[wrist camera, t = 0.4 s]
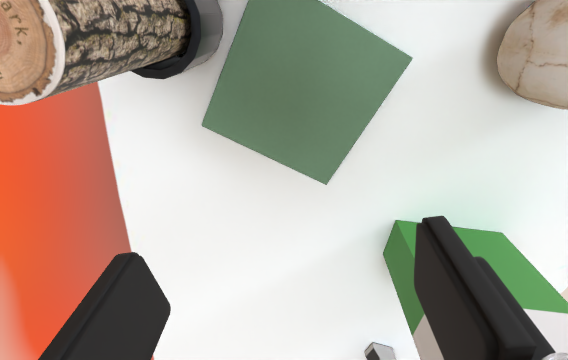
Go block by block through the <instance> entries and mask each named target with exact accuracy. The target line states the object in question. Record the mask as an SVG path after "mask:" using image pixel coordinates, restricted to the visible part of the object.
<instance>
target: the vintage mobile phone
mask: <svg viewBox="0 0 568 360" xmlns="http://www.w3.org/2000/svg"><path fill="white" fill-rule="evenodd" d="M365 356H366V358H367V360H396V358H395V354H394V351H393V348H391V347H388V346H384V345H380V344H376V343H372V344H371V345H370V346H369V348H368V349H367V350H366V351H365Z"/></svg>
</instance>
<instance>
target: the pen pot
mask: <svg viewBox="0 0 568 360" xmlns="http://www.w3.org/2000/svg"><path fill="white" fill-rule="evenodd" d="M184 2H185V4H186V6H187V9H188V11H189V14H190V20H191V34H192V35H191V39H190V42H189V45H188V48H187V52H186V53H185V54H184V55H183V56H182V57H176V56H174V57H171V58H167V59H164V60H161V61H158V62H155V63H152V64H149V65H146V66H143V67H140V68H137V69H133V70H130V71H132V72H134V73H136V74H138V75H140V76H142V77H144V78H155V79H166V78H169V77H171V76H174V75H177V74H180V73H182V72H184V71H186V70H188V69H190V68H192V67H194V66H196V65H198V64H200V63H203V62H205V61H206V60H207V59H208V58H209V57H210V56H211V55H212V54H213V53H214V52H215V51H216V50H217V48H218V45H219V43H220V40H221V37H222V34H223V23H222V12H221V9H220V7H219V4H218V1H217V0H184Z"/></svg>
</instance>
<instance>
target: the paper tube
mask: <svg viewBox="0 0 568 360" xmlns="http://www.w3.org/2000/svg"><path fill="white" fill-rule="evenodd" d="M191 35H192V34H191V20H190V14H189V11H188V9H187V6H186V4H185V2H184V0H0V104H3V105H21V104H26V103H29V102H35V101H38V100H41V99H44V98H47V97H50V96H53V95H56V94H59V93H62V92H66V91H69V90H72V89H75V88H78V87H81V86H84V85H87V84H90V83H93V82H96V81H100V80H103V79H106V78H109V77H112V76H115V75H118V74H121V73H124V72H127V71H130V70H133V69H137V68H140V67H143V66H146V65H149V64H152V63H155V62H158V61H161V60H164V59H167V58H171V57H174V56H177V55H180V54H183V53H185V52H187V48H188V45H189V42H190V39H191Z"/></svg>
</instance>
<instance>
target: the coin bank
mask: <svg viewBox="0 0 568 360" xmlns="http://www.w3.org/2000/svg"><path fill="white" fill-rule="evenodd" d="M497 66H498V72H499V74H500V76H501V78H502V80H503V81H504V83H505V84H506V85H507V86H508V87H509V88H510V89H511V90H512V91H513V92H514V93H516V94H517V95H519V96H521V97H523V98H525V99H527V100H530V101H533V102H536V103H539V104H542V105H546V106H550V107H554V108H559V109H568V0H536V1H535V2H533V3H532V4H531V5H530V6H529V7H528V8H527V9H526V10H525V11H524V12H522V13H521V14H520V15H519V16H518V17H517V18H516V19H515V20H514V21H513V23H512V24H511V25H510V26H509V28H508V29H507V31H506V33H505V36H504V38H503V41H502V43H501V46H500V48H499V52H498V55H497Z"/></svg>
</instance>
